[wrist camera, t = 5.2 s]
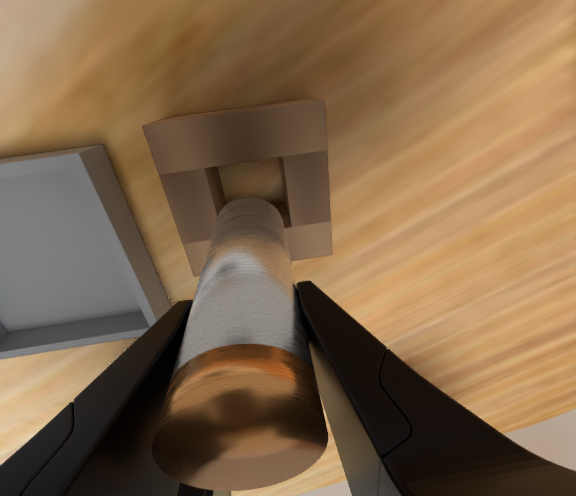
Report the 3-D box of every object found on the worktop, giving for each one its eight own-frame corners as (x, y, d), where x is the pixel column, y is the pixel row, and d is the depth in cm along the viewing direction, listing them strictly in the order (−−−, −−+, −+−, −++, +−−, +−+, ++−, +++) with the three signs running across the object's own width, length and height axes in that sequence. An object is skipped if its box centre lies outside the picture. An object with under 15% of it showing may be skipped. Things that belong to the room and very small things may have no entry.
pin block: (310, 97, 18) (324, 99, 14) (320, 228, 22) (332, 254, 19) (164, 118, 17) (142, 125, 14) (203, 246, 22) (194, 276, 18)
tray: (102, 144, 18) (78, 152, 15) (171, 308, 24) (162, 332, 22) (-122, 176, 17) (-183, 190, 15) (11, 334, 24) (-17, 362, 21)
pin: (288, 200, 12) (346, 394, 5) (279, 259, 14) (311, 486, 6) (216, 192, 12) (143, 396, 4) (215, 255, 13) (157, 495, 5)
